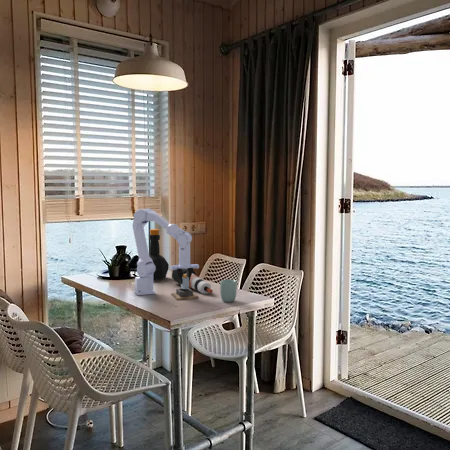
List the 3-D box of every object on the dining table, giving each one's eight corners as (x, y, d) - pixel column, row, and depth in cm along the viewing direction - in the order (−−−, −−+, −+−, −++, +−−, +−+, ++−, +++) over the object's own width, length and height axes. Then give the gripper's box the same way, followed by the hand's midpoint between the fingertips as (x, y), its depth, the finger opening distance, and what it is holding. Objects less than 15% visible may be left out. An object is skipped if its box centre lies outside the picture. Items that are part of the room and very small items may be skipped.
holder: (176, 300, 216) (176, 293, 216) (171, 295, 226) (171, 288, 226) (198, 298, 220) (198, 291, 220) (191, 293, 231) (191, 286, 230)
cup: (229, 298, 221) (229, 278, 220) (239, 301, 215) (239, 281, 214) (217, 301, 215) (217, 280, 215) (227, 304, 210) (227, 283, 209)
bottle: (135, 278, 266) (135, 229, 264) (158, 275, 278) (158, 227, 275) (150, 282, 255) (150, 231, 252) (173, 279, 266) (173, 229, 263)
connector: (183, 289, 220) (183, 275, 220) (180, 287, 224) (180, 273, 223) (188, 288, 221) (188, 275, 221) (186, 287, 225) (186, 273, 224)
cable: (206, 304, 226) (199, 289, 221) (175, 285, 253) (169, 271, 249) (221, 294, 230) (215, 278, 226) (189, 275, 257) (183, 261, 253)
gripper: (172, 258, 215) (172, 285, 216) (200, 257, 221) (200, 283, 222) (169, 256, 222) (169, 283, 223) (196, 255, 227) (196, 281, 228)
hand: (184, 283), depth 223 cm, fingers closed on connector, 3 cm apart
